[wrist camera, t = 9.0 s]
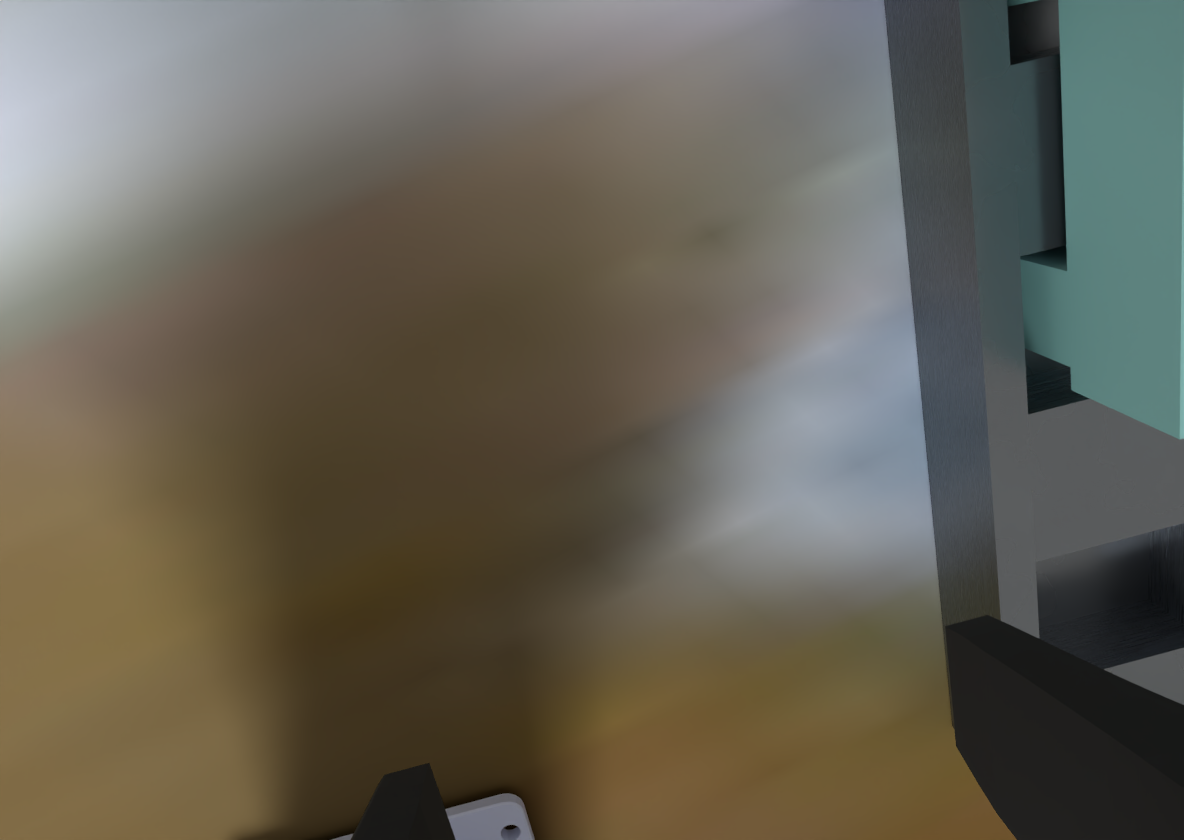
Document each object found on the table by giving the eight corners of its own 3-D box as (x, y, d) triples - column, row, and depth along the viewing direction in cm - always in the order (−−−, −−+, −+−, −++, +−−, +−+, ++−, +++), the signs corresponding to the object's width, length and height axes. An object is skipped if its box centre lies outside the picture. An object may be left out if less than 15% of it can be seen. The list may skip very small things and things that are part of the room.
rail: (1153, 672, 25) (1238, 741, 23) (952, 726, 25) (1013, 803, 22) (1153, -349, 17) (1286, -439, 15) (857, -286, 17) (934, -366, 14)
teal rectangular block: (1120, 331, 21) (1329, 400, 16) (1005, 360, 21) (1179, 438, 16) (1113, -159, 17) (1377, -271, 12) (977, -128, 17) (1186, -229, 12)
